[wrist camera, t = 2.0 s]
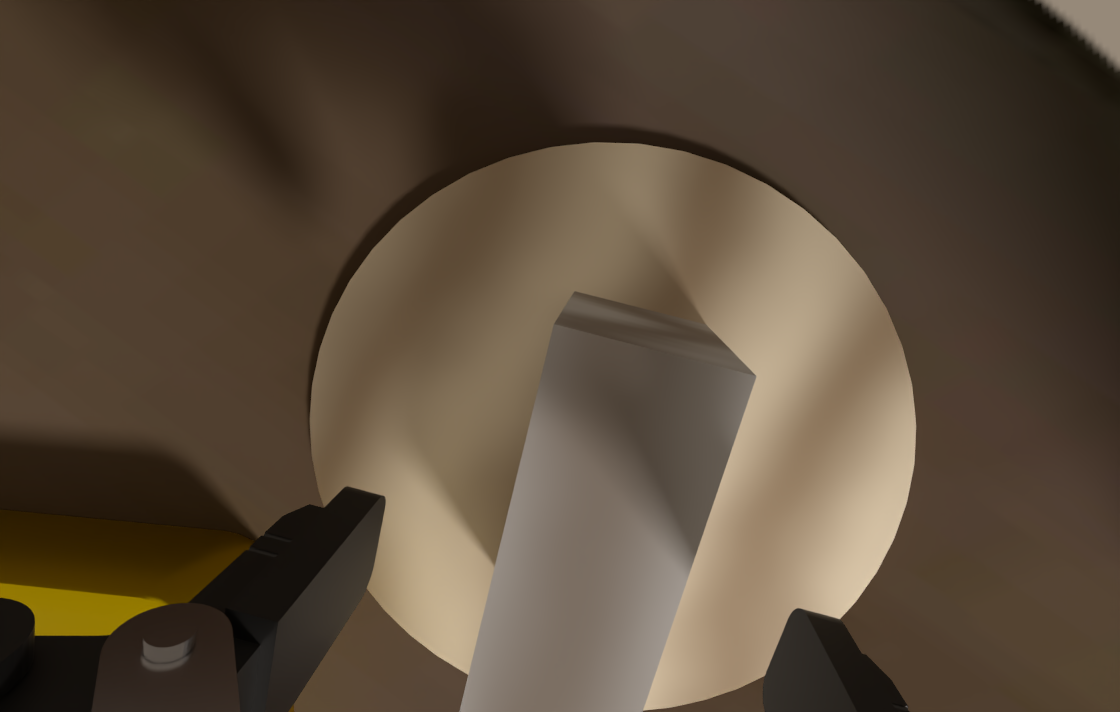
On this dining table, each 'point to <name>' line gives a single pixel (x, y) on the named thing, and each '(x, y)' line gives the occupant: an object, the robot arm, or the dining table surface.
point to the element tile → (105, 568)
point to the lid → (614, 426)
